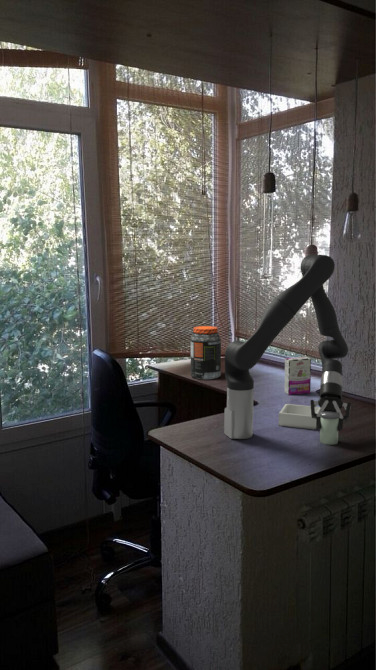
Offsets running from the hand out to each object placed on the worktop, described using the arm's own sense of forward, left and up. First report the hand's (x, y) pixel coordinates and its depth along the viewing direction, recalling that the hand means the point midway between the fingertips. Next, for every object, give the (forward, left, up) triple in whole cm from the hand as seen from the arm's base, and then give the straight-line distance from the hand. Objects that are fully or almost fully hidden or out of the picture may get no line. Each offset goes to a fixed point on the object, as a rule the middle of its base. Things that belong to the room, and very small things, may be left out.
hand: (329, 429), depth 185 cm
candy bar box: (+25, +62, -5) cm, 67 cm away
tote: (+3, +23, -5) cm, 24 cm away
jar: (+1, +1, -5) cm, 5 cm away
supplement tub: (-3, +107, -5) cm, 108 cm away
